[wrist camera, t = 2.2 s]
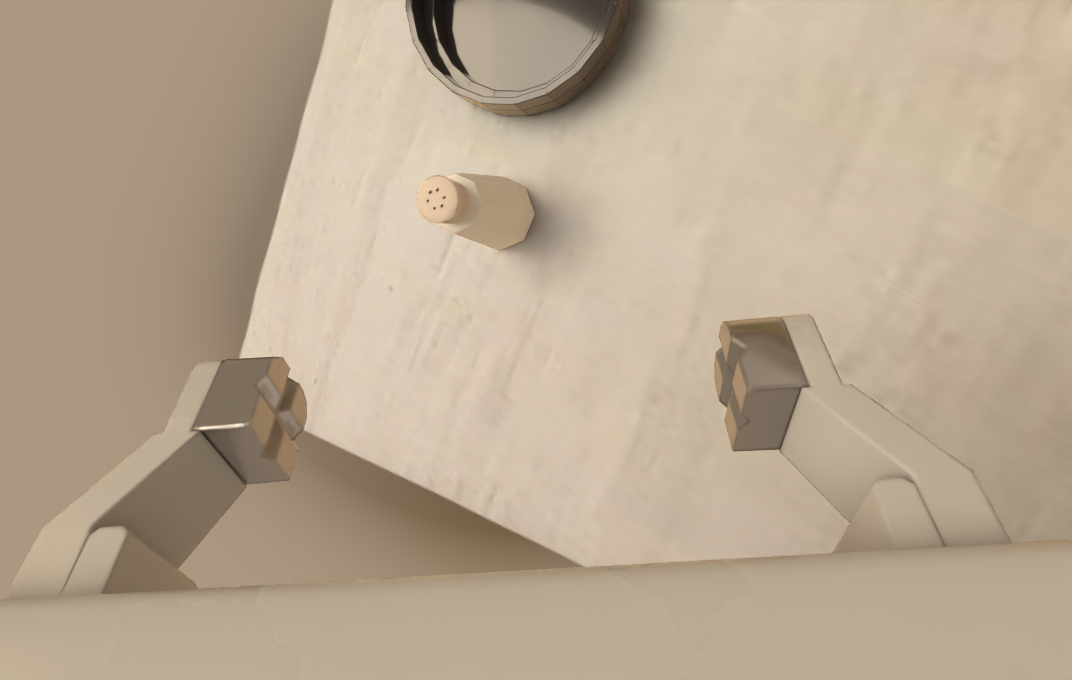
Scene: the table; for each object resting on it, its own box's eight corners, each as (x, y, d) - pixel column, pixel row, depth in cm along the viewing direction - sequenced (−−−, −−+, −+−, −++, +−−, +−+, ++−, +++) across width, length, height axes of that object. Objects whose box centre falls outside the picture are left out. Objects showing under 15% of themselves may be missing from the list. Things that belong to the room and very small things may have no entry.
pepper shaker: (454, 213, 49) (378, 198, 39) (502, 161, 47) (436, 131, 37) (499, 265, 48) (435, 265, 38) (550, 214, 47) (497, 199, 36)
